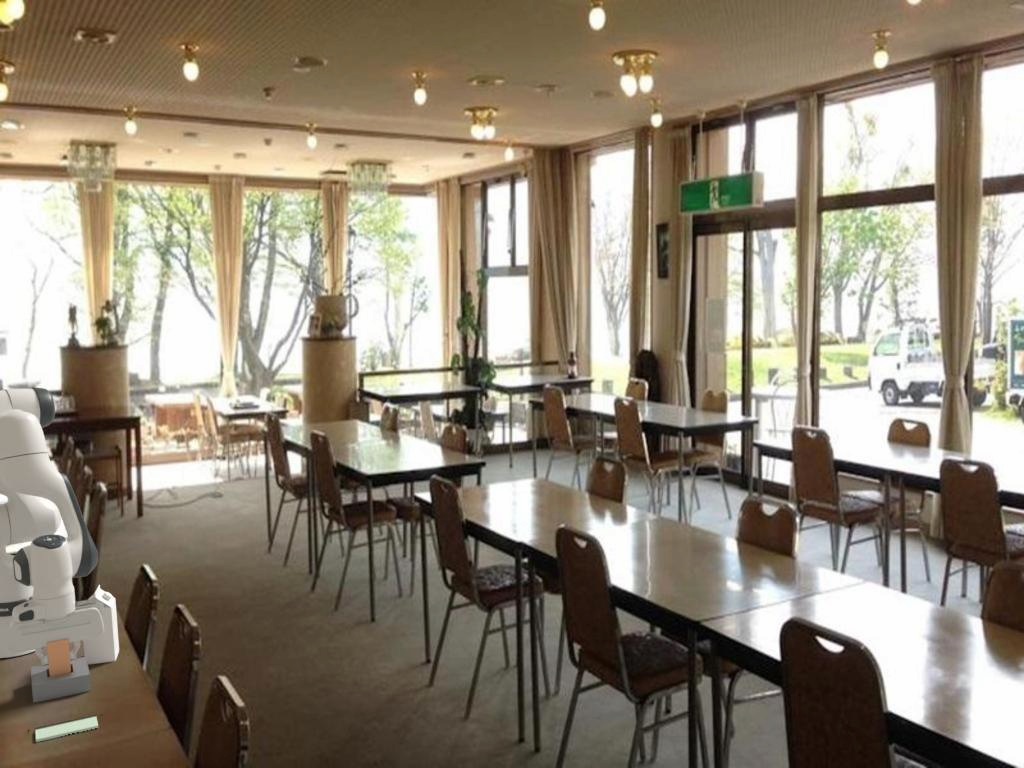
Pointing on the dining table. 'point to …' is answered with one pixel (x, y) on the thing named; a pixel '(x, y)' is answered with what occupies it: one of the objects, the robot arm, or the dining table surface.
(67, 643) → the block
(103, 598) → the milk carton
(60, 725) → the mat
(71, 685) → the holder
